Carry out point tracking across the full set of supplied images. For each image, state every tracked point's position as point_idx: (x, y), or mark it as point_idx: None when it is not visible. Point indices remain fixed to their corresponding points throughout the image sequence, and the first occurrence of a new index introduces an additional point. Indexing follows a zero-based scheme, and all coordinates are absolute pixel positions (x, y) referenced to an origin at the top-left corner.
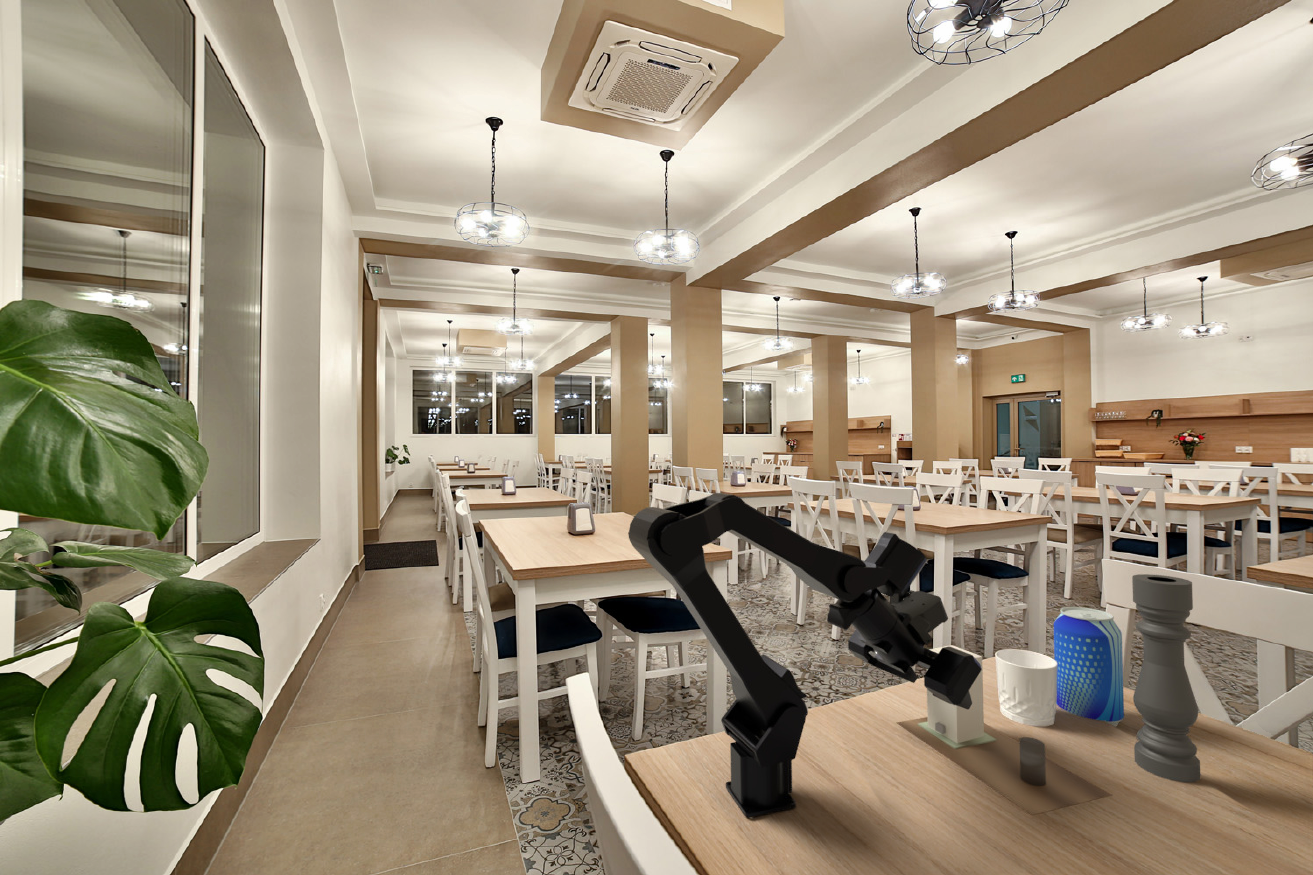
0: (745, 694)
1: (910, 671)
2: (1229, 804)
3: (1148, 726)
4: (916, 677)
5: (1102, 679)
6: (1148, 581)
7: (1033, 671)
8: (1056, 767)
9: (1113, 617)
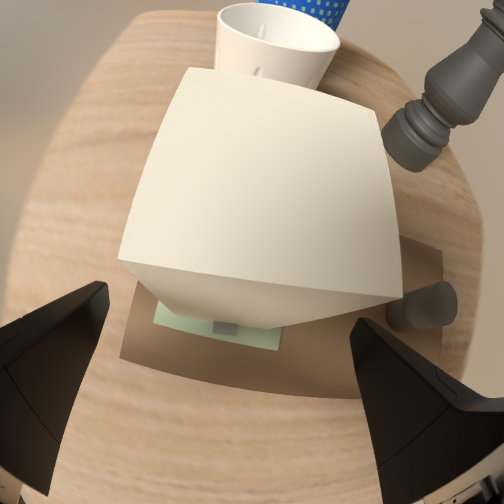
0: None
1: (87, 319)
2: (436, 158)
3: (438, 120)
4: (105, 289)
5: (333, 30)
6: None
7: (327, 56)
8: None
9: None
